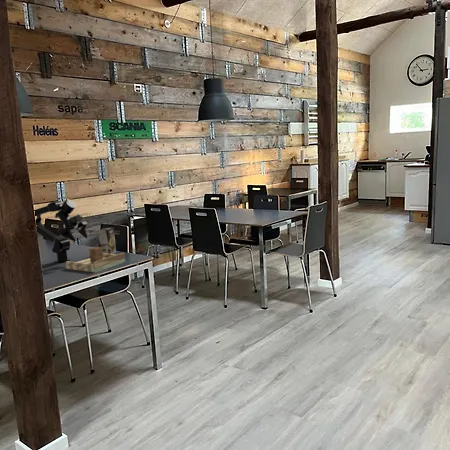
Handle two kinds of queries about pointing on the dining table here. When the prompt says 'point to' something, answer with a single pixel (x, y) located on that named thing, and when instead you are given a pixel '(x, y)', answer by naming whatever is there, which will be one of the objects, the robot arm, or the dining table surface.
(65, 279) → the dining table surface
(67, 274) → the dining table surface
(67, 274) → the dining table surface
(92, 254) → the walnut block
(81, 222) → the robot arm
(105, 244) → the coffee box
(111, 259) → the trap lane
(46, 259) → the dining table surface
